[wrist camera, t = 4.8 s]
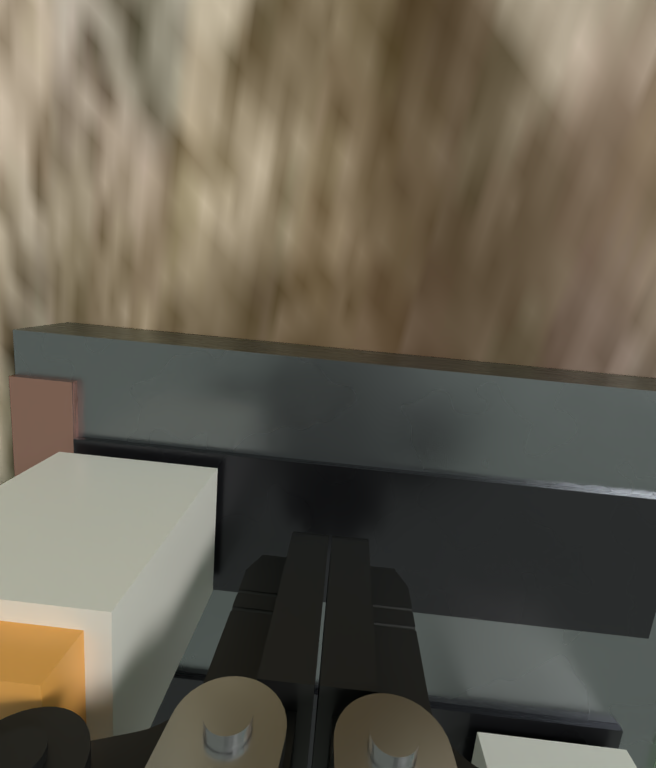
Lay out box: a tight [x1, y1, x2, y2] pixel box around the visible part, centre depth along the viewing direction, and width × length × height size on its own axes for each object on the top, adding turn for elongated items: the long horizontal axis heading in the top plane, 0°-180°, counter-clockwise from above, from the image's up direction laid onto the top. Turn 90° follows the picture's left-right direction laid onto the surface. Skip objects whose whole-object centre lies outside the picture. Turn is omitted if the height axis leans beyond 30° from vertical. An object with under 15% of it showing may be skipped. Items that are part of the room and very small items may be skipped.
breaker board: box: [9, 322, 656, 768], centre depth 13 cm, size 20×18×2 cm
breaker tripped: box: [0, 452, 218, 741], centre depth 8 cm, size 3×4×5 cm
